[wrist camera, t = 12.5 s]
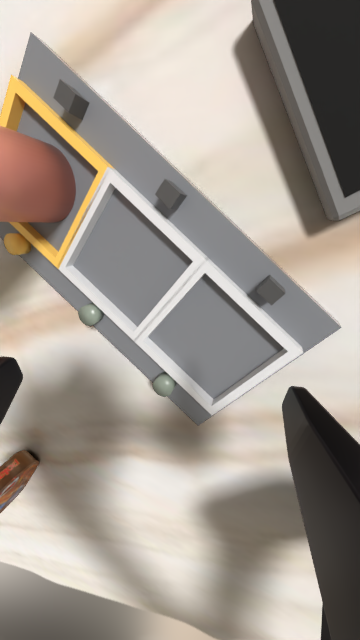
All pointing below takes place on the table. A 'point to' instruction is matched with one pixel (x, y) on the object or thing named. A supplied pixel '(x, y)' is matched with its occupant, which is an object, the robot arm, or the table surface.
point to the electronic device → (319, 89)
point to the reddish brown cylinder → (33, 180)
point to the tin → (15, 476)
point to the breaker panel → (153, 252)
